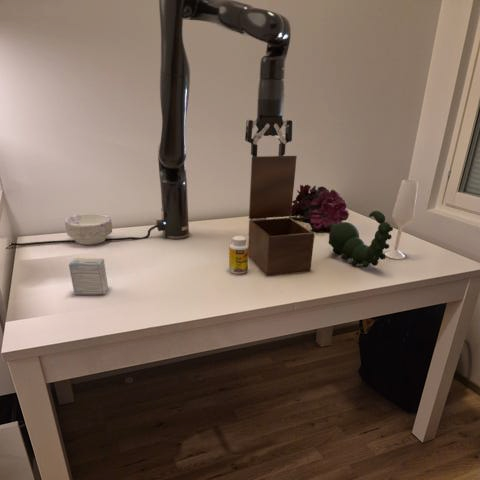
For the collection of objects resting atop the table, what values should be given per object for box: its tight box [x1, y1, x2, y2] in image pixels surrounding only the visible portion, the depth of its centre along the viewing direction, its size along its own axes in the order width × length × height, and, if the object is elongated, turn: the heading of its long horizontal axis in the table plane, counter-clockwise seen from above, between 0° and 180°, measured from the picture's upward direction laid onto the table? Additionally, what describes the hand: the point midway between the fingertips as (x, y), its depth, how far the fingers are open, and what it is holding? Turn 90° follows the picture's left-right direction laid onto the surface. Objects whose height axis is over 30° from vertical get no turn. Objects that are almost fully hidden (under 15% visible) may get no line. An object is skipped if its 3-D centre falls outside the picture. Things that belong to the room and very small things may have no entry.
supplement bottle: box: [228, 235, 249, 275], centre depth 123 cm, size 6×6×10 cm
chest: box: [247, 217, 315, 277], centre depth 129 cm, size 18×14×12 cm
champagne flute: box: [384, 179, 419, 260], centre depth 135 cm, size 7×7×24 cm
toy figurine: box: [327, 210, 394, 268], centre depth 131 cm, size 9×19×25 cm
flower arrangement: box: [288, 184, 350, 233], centre depth 170 cm, size 31×20×15 cm, turn 22°
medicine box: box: [68, 257, 109, 296], centre depth 109 cm, size 8×4×9 cm, turn 92°
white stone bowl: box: [64, 213, 113, 246], centre depth 146 cm, size 15×15×8 cm
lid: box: [248, 155, 298, 220], centre depth 131 cm, size 18×14×6 cm
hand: (267, 157), depth 129 cm, fingers open, 8 cm apart
